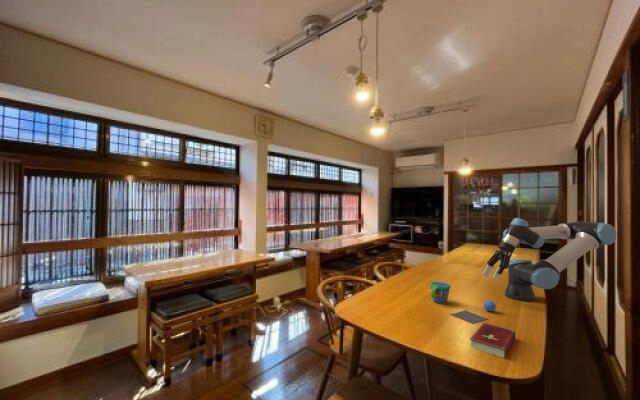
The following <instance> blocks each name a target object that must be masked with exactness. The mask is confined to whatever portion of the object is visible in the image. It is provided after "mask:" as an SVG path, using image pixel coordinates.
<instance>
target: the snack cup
mask: <svg viewBox="0 0 640 400" xmlns="http://www.w3.org/2000/svg"><path fill="white" fill-rule="evenodd" d="M429 286H430V289H431V295H430V296H431V299H432V301H433V302H434V303H436V304H441V305H442V304H447V303H448V300H449V299H448V298H449V294H450V289H451V284H449V283H447V282H442V281H431V282H430V283H429Z"/></svg>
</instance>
